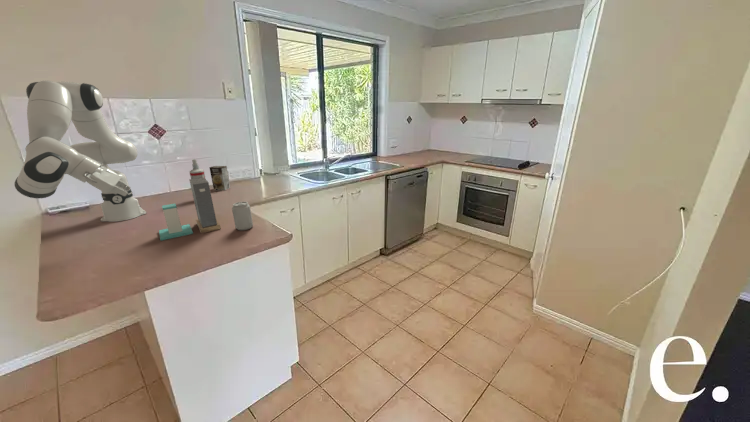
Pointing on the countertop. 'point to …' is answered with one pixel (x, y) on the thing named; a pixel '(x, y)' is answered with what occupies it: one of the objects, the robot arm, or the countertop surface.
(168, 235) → the pad
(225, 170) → the coffee box
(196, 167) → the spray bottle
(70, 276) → the countertop surface
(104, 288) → the countertop surface
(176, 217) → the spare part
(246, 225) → the can
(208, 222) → the mounted unit
